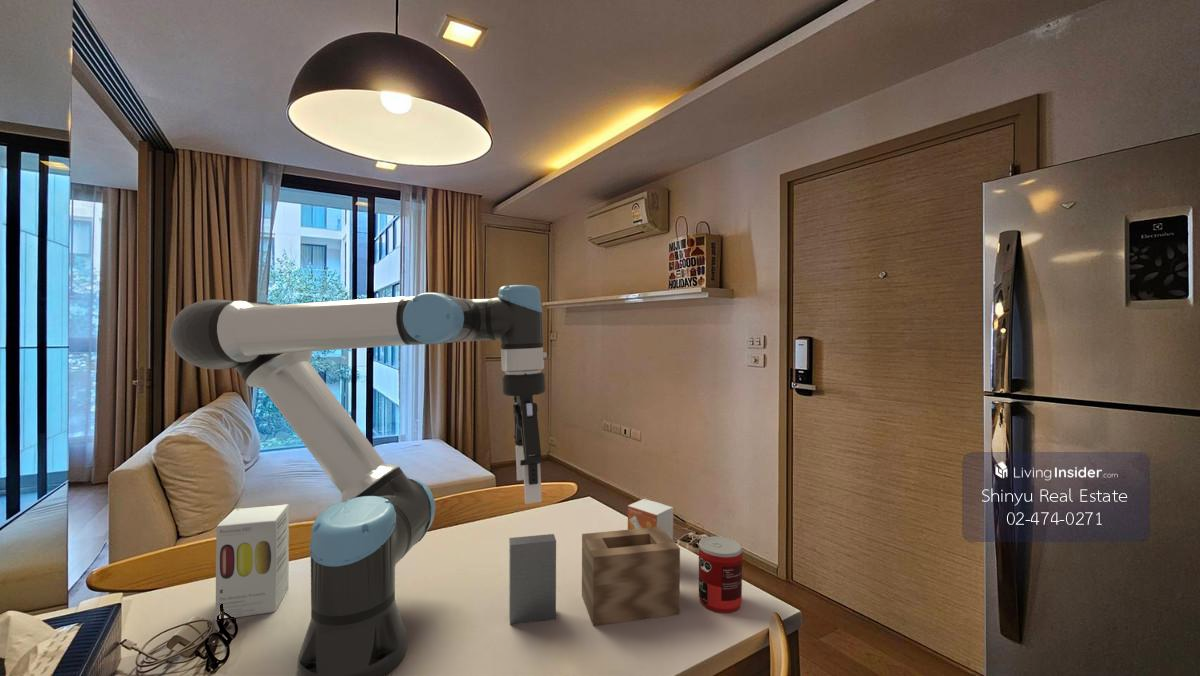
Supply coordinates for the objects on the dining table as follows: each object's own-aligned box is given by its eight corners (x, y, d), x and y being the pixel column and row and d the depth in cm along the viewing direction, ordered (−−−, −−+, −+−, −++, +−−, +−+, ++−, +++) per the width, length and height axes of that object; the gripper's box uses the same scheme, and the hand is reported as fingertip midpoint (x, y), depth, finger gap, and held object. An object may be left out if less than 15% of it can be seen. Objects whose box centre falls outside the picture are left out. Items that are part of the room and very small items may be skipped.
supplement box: (213, 622, 86) (212, 526, 86) (232, 595, 95) (232, 508, 94) (277, 612, 89) (276, 519, 89) (290, 586, 98) (290, 502, 98)
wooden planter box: (593, 625, 85) (593, 557, 85) (581, 595, 95) (582, 533, 95) (679, 614, 89) (679, 548, 89) (660, 586, 99) (660, 526, 99)
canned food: (702, 588, 98) (702, 533, 98) (743, 596, 95) (744, 539, 95) (694, 608, 91) (695, 549, 91) (739, 617, 88) (740, 556, 88)
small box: (626, 563, 108) (626, 505, 108) (644, 554, 113) (644, 497, 113) (656, 576, 103) (656, 514, 103) (673, 566, 107) (674, 506, 107)
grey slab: (510, 625, 86) (510, 545, 85) (509, 615, 89) (509, 537, 88) (555, 619, 87) (556, 540, 87) (553, 609, 90) (553, 533, 90)
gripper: (556, 376, 77) (561, 510, 78) (535, 366, 101) (539, 469, 102) (507, 379, 75) (513, 517, 76) (497, 368, 99) (502, 473, 100)
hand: (528, 490), depth 89 cm, fingers open, 13 cm apart
